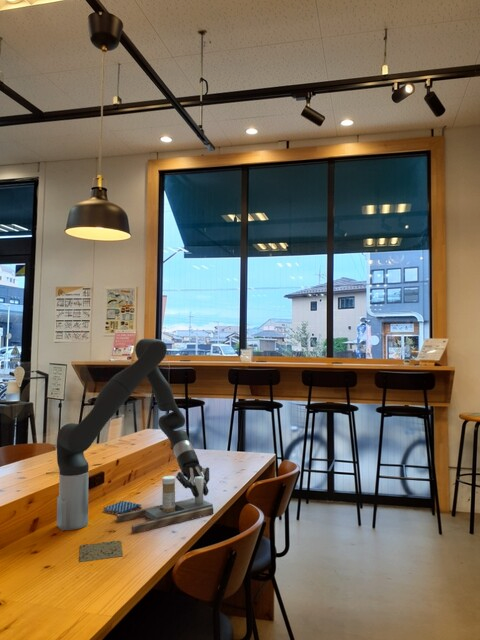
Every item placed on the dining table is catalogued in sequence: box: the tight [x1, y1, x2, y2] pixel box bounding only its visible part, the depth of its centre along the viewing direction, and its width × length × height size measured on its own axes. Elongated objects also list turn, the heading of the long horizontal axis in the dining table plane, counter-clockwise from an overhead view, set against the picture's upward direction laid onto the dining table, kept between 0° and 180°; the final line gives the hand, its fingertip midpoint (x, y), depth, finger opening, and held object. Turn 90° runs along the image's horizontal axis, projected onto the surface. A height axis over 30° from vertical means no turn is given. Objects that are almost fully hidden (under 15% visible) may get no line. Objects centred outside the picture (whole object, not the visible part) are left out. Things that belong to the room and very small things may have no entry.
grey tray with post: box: [144, 476, 214, 521], centre depth 167 cm, size 22×9×11 cm, turn 126°
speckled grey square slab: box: [78, 540, 124, 563], centre depth 136 cm, size 12×12×1 cm
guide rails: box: [116, 497, 214, 534], centre depth 164 cm, size 30×14×2 cm, turn 126°
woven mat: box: [102, 500, 143, 516], centre depth 172 cm, size 10×11×2 cm
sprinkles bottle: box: [161, 475, 176, 514], centre depth 165 cm, size 5×5×13 cm
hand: (201, 495), depth 170 cm, fingers closed on grey tray with post, 3 cm apart
